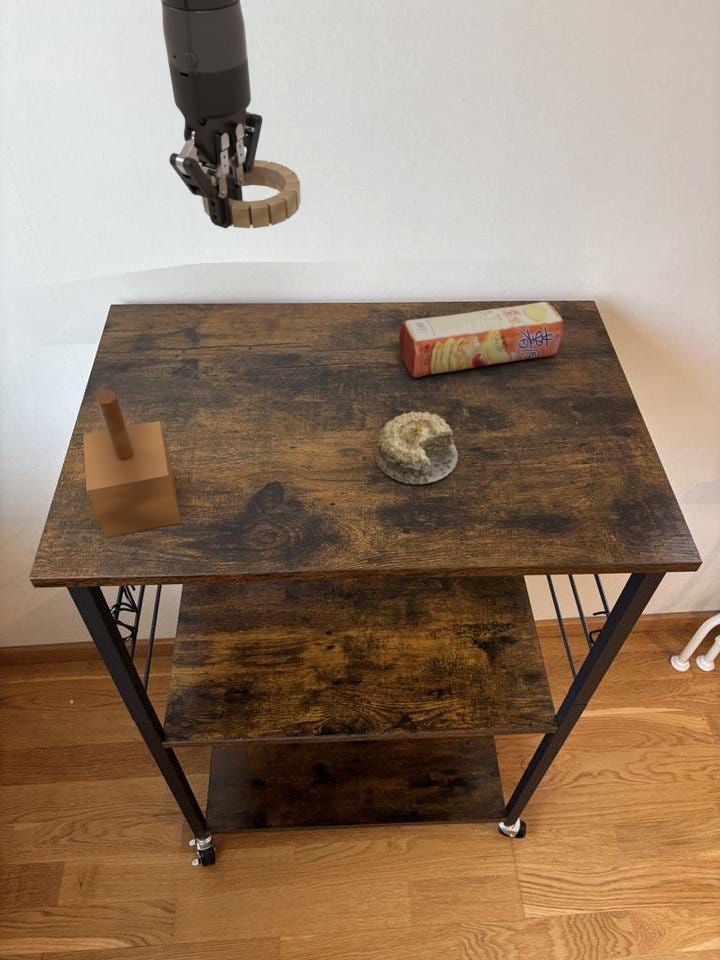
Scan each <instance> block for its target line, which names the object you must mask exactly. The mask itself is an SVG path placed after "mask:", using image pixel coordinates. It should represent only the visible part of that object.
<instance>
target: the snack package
mask: <svg viewBox="0 0 720 960" xmlns="http://www.w3.org/2000/svg"><path fill="white" fill-rule="evenodd" d="M564 326H565V323H564V320H563V318H562V317H561V315H560V314H559V312H558V311H557V310H556V309H555V307H554V306H553V305H551V304H550V303H549V302H547V301H538V302H533V303H532V302H531V303H525V304H520V305H519V304H518V305H514V306H505V307H497V308H489V309H482V310H481V309H480V310H475V311H469V312H461V313H454V314H447V315H446V314H445V315H438V316H429V317H422V318H412V319H411V318H409V319H406V320H404V321H402V322H401V324H400V328H399V334H398V335H399V337H398V338H399V339H398V342H399V350H400V355H401V358H402V361H403V363H404V365H405V367H406V369H407V371H408V373H409V374H410V376H411V377H413V378H421V377H425V376H429V375H436V374H437V375H438V374H443V373H449V372H456V371H463V370H469V369H474V368H479V367H485V366H490V365H497V364H503V363H509V362H516V361H517V362H518V361H522V360H530V359H537V358H548V357H551V356H554V355H556V354H557V352H558V351H559V349H560V346H561V342H562V339H563V336H564V329H565V327H564Z"/></svg>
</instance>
